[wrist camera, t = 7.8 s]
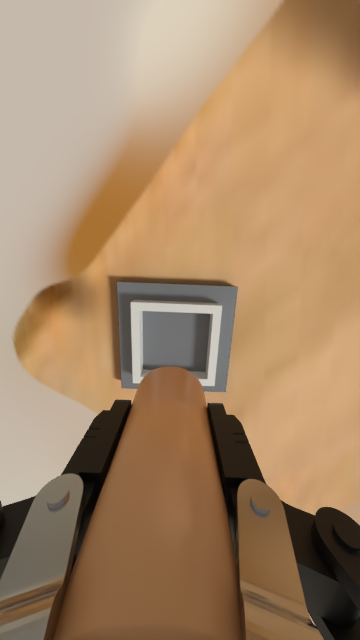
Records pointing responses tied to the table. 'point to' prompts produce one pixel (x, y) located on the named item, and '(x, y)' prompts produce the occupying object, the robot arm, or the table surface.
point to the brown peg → (158, 529)
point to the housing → (176, 330)
